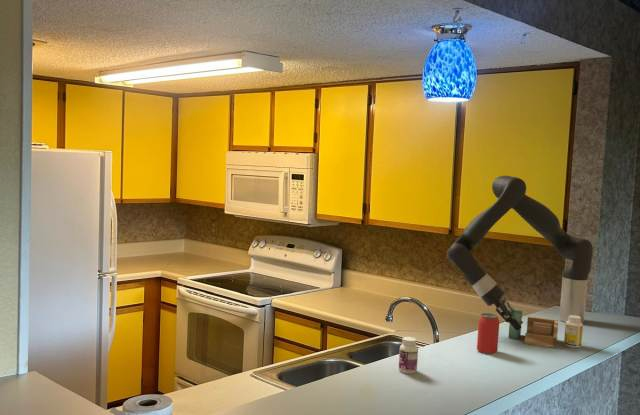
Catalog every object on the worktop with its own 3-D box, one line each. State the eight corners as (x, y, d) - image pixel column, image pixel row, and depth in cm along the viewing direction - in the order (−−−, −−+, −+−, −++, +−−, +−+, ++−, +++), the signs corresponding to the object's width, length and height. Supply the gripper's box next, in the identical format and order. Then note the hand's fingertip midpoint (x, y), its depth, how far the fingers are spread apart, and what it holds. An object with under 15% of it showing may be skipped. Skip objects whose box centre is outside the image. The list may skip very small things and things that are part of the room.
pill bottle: (394, 368, 186) (396, 336, 185) (410, 367, 188) (412, 335, 187) (404, 374, 181) (406, 342, 180) (420, 373, 183) (422, 340, 182)
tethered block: (509, 335, 227) (511, 307, 226) (550, 340, 222) (552, 312, 221) (507, 339, 221) (509, 311, 220) (550, 345, 216) (552, 316, 215)
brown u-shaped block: (526, 335, 227) (527, 316, 226) (556, 339, 223) (558, 320, 223) (524, 343, 217) (526, 323, 216) (556, 348, 213) (557, 327, 213)
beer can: (472, 351, 206) (475, 314, 205) (482, 347, 211) (485, 311, 210) (491, 356, 202) (493, 319, 201) (501, 351, 206) (503, 315, 205)
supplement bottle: (576, 343, 220) (578, 314, 219) (584, 348, 214) (586, 318, 213) (560, 343, 219) (563, 314, 218) (568, 348, 214) (570, 318, 213)
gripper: (493, 286, 218) (527, 325, 214) (498, 279, 231) (529, 315, 228) (477, 300, 220) (510, 338, 217) (482, 292, 233) (513, 328, 230)
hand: (520, 326), depth 222 cm, fingers open, 6 cm apart
